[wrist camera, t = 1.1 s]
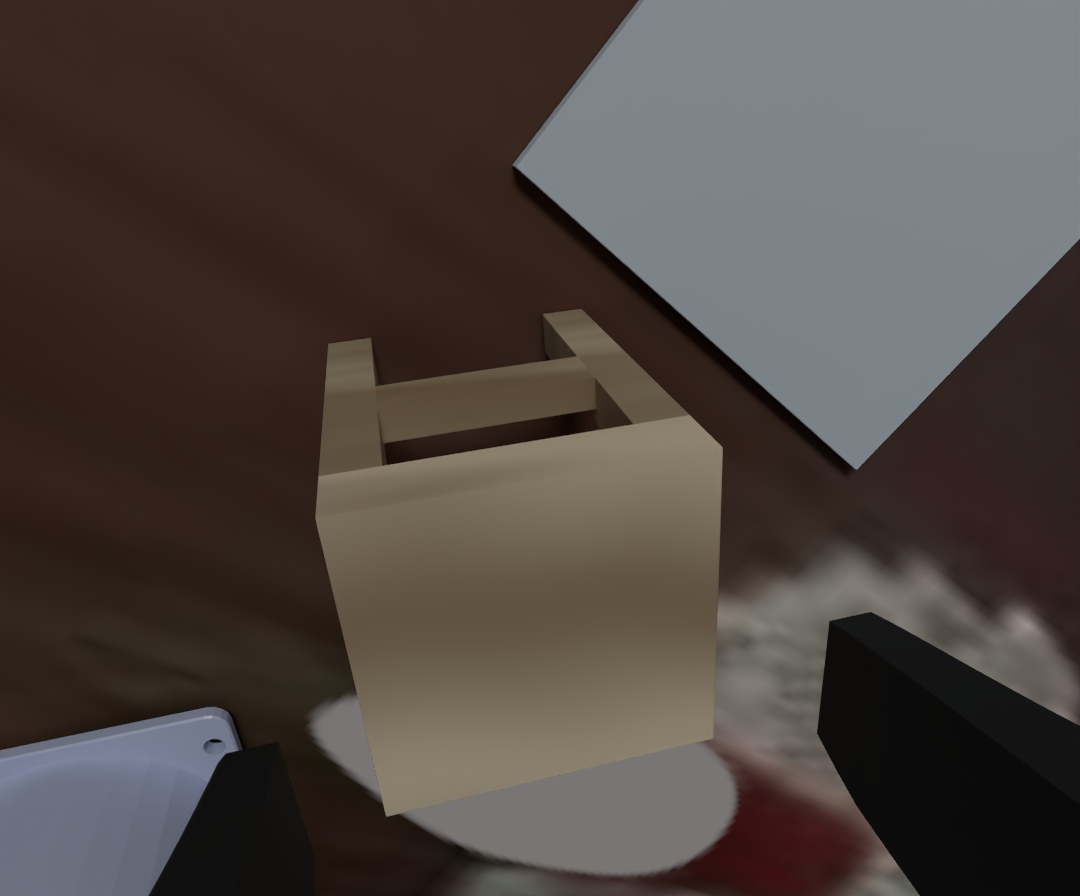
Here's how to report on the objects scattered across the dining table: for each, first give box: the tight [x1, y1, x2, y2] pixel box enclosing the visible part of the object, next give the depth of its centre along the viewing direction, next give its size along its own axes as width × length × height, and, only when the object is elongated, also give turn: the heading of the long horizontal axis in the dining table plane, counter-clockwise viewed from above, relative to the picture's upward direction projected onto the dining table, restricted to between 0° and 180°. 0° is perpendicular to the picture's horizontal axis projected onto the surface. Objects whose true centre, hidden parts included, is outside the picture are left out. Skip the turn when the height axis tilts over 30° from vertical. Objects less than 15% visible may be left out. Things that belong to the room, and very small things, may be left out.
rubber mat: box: [513, 0, 1080, 470], centre depth 17 cm, size 12×12×1 cm
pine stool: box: [315, 309, 723, 817], centre depth 15 cm, size 6×6×8 cm
